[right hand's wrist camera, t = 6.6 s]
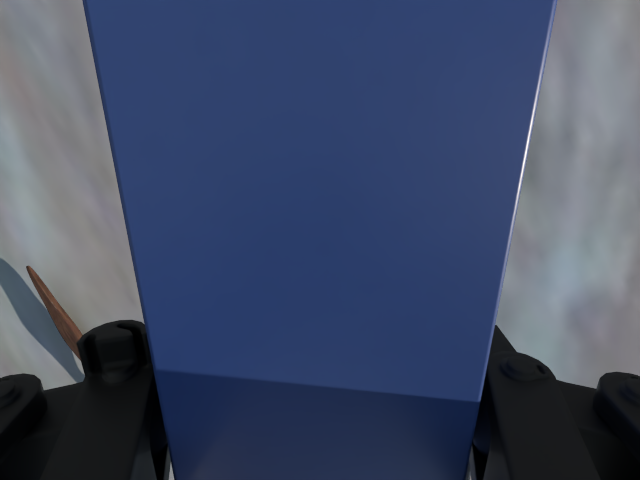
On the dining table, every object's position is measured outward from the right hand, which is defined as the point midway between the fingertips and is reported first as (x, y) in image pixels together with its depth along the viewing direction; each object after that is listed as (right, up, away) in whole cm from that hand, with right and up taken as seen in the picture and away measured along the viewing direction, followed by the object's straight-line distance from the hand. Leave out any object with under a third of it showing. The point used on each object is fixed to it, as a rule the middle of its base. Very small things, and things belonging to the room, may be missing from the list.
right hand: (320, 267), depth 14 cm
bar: (0, +9, -3) cm, 9 cm away
